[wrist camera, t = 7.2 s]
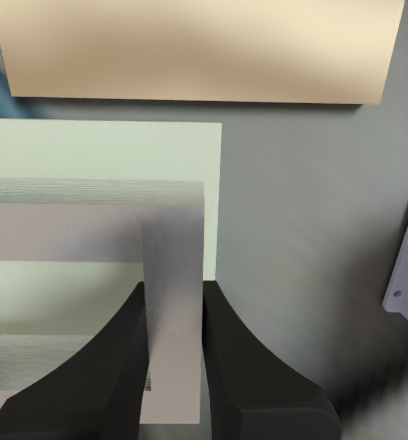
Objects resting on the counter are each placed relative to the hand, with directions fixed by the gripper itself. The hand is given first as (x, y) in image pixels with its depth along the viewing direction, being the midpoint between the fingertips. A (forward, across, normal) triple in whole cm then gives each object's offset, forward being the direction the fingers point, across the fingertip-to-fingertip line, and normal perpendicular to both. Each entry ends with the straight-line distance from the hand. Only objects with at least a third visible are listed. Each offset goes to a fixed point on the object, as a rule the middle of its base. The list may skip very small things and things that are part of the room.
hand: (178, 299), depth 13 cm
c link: (+1, +5, 0) cm, 5 cm away
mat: (+5, +5, 0) cm, 7 cm away
